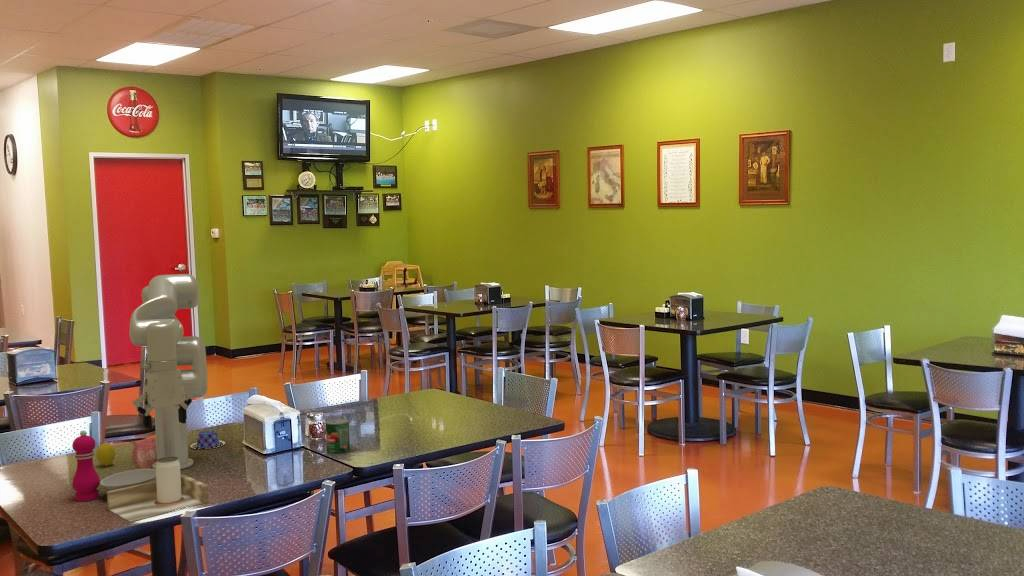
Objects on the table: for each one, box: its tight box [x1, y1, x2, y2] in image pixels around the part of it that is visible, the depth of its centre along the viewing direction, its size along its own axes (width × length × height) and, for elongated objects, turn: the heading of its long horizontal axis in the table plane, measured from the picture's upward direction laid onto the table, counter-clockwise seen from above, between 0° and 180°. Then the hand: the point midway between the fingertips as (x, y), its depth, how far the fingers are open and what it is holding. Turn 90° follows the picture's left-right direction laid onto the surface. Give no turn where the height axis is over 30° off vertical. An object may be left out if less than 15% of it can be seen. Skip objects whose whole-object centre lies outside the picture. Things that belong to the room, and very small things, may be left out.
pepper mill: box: [71, 430, 101, 502], centre depth 251 cm, size 7×7×20 cm
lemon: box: [96, 442, 116, 467], centre depth 285 cm, size 6×6×8 cm
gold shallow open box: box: [106, 474, 210, 523], centre depth 243 cm, size 16×22×5 cm
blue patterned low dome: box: [189, 430, 226, 450], centre depth 309 cm, size 12×12×5 cm
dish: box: [99, 468, 156, 491], centre depth 255 cm, size 18×14×5 cm
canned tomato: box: [324, 418, 351, 456], centre depth 296 cm, size 8×8×11 cm
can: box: [155, 457, 182, 504], centre depth 246 cm, size 6×6×12 cm
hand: (165, 425), depth 245 cm, fingers open, 9 cm apart
